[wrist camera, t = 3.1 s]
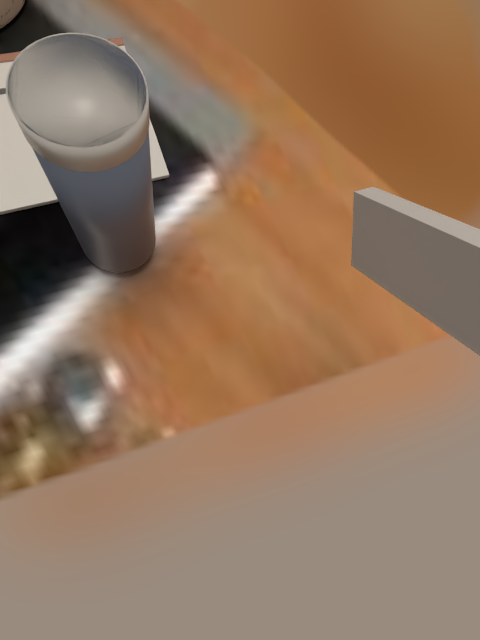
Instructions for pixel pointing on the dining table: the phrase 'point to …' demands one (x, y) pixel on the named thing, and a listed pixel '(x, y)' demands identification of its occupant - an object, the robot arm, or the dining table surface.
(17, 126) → the sheet
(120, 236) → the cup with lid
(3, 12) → the teacup with lid
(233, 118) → the dining table surface
